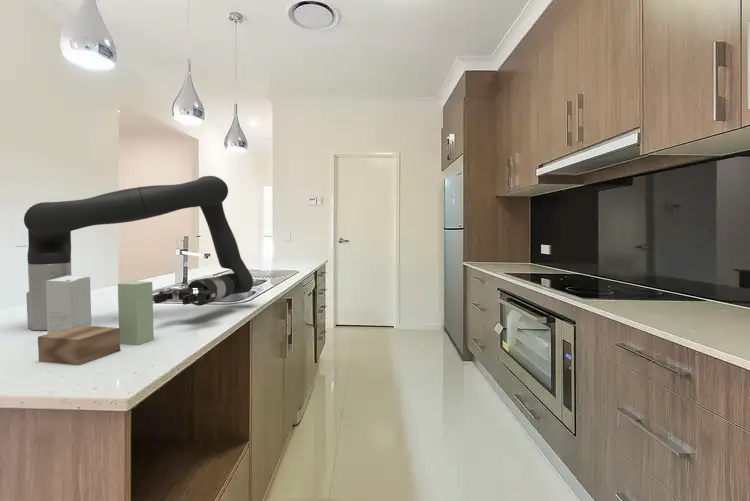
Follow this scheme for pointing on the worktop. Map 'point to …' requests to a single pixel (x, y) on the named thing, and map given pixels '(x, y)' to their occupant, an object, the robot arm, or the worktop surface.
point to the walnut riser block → (78, 344)
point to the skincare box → (68, 303)
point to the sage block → (135, 312)
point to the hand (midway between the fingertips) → (169, 300)
